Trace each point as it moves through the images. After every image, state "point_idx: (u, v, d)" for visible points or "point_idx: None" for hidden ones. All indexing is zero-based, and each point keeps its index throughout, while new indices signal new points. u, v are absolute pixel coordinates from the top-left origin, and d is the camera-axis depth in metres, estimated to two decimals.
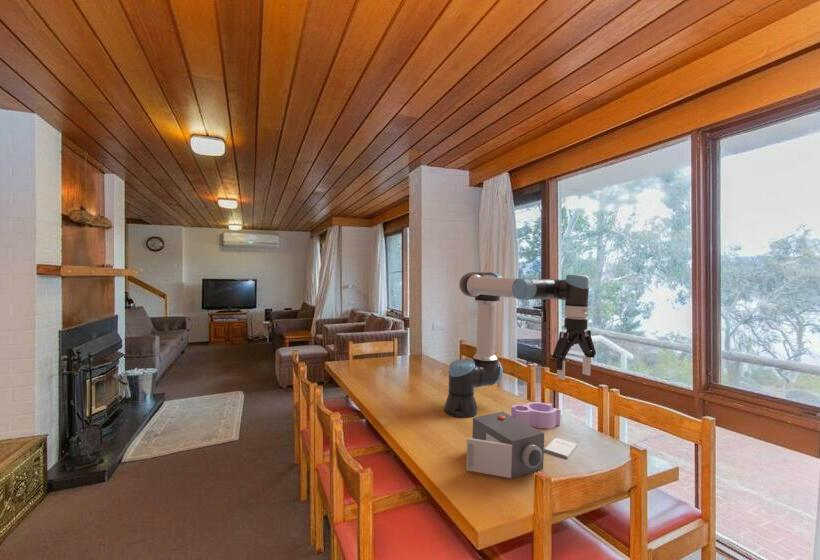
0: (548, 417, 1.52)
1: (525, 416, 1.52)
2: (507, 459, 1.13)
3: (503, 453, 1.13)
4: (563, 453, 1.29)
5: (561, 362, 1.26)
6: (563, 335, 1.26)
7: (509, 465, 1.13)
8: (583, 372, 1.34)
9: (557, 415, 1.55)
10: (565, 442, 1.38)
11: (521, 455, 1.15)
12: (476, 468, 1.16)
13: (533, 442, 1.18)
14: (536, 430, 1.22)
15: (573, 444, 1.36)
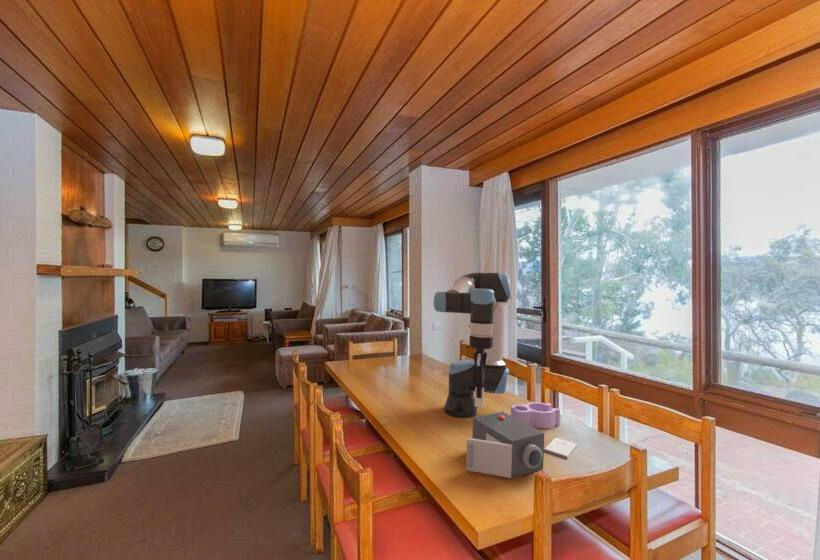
0: (548, 417, 1.52)
1: (525, 416, 1.52)
2: (507, 459, 1.13)
3: (503, 453, 1.13)
4: (563, 453, 1.29)
5: None
6: None
7: (509, 465, 1.13)
8: None
9: (556, 415, 1.55)
10: (565, 442, 1.38)
11: (521, 455, 1.15)
12: (476, 468, 1.16)
13: (533, 442, 1.18)
14: (536, 430, 1.22)
15: (573, 444, 1.36)
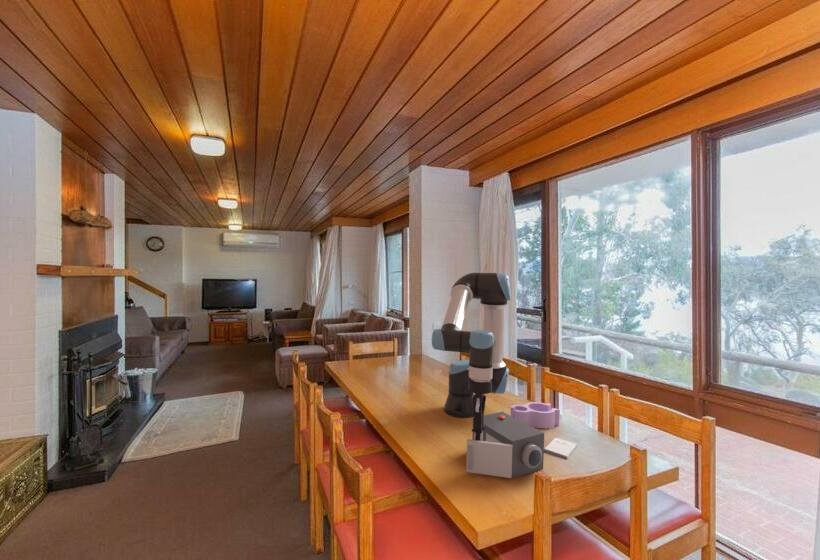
0: (548, 417, 1.52)
1: (524, 416, 1.52)
2: (507, 459, 1.13)
3: (503, 454, 1.13)
4: (563, 453, 1.29)
5: None
6: None
7: (509, 465, 1.13)
8: None
9: (556, 415, 1.55)
10: (565, 442, 1.38)
11: (521, 455, 1.15)
12: (476, 469, 1.15)
13: (533, 442, 1.18)
14: (536, 430, 1.22)
15: (573, 444, 1.36)
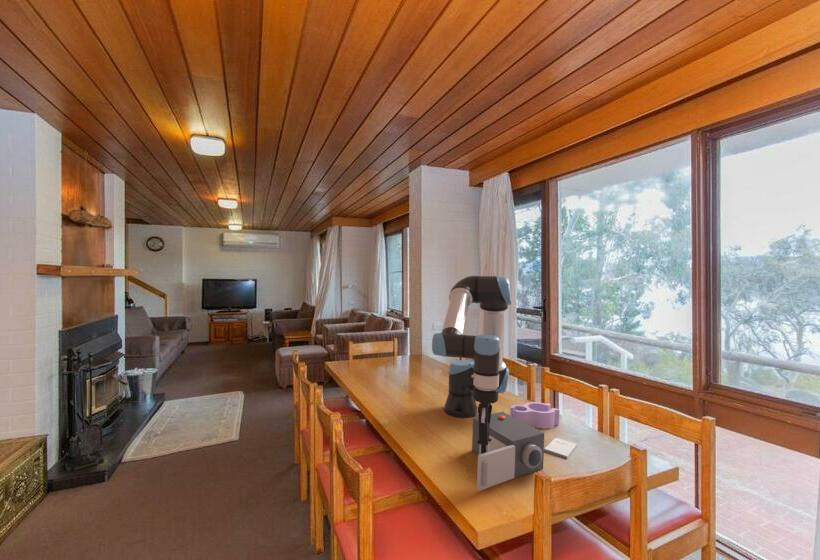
0: (548, 417, 1.52)
1: (524, 416, 1.52)
2: (512, 461, 1.12)
3: (509, 457, 1.11)
4: (563, 453, 1.29)
5: None
6: None
7: (513, 466, 1.12)
8: None
9: (556, 415, 1.55)
10: (565, 442, 1.38)
11: (521, 455, 1.15)
12: (488, 484, 1.07)
13: (533, 442, 1.18)
14: (536, 430, 1.22)
15: (573, 444, 1.36)
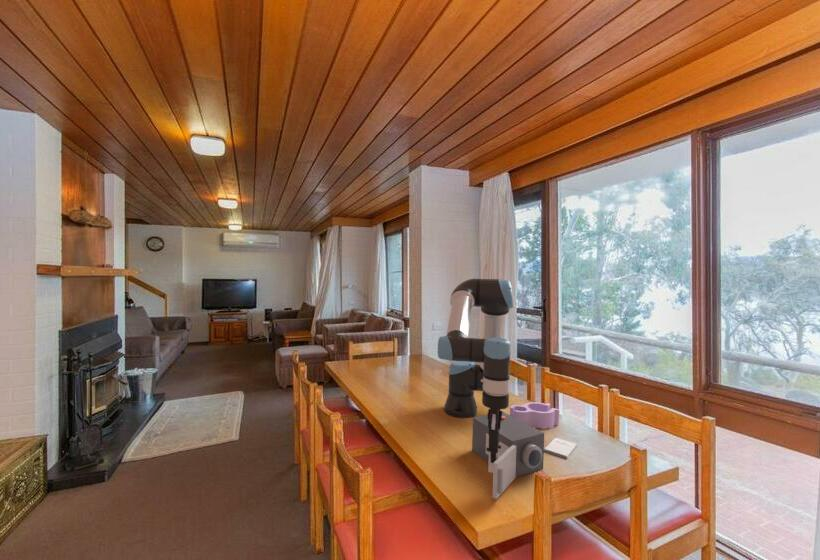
0: (547, 417, 1.51)
1: (524, 416, 1.52)
2: (514, 461, 1.12)
3: (513, 457, 1.11)
4: (563, 453, 1.29)
5: None
6: None
7: (515, 466, 1.12)
8: None
9: (556, 415, 1.55)
10: (565, 442, 1.38)
11: (521, 455, 1.15)
12: None
13: (533, 442, 1.18)
14: (536, 430, 1.22)
15: (573, 444, 1.36)
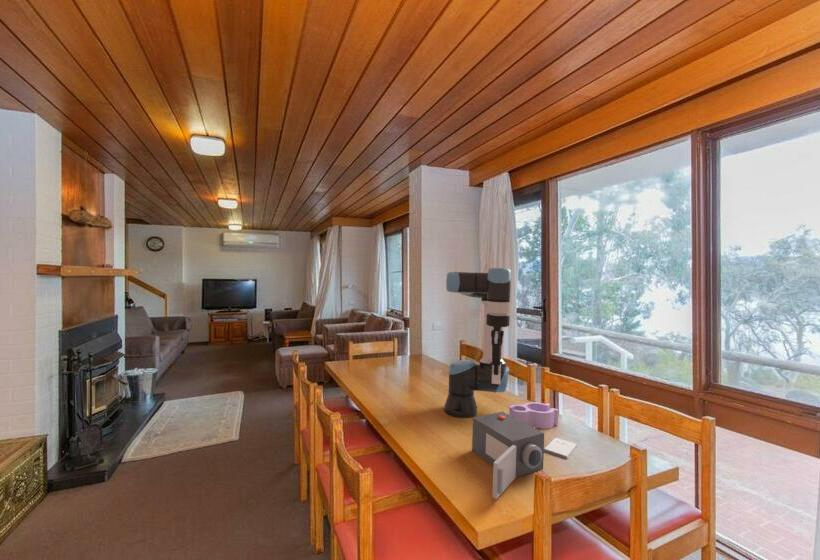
0: (546, 417, 1.52)
1: (523, 416, 1.52)
2: (514, 461, 1.12)
3: (513, 457, 1.11)
4: (563, 453, 1.29)
5: None
6: None
7: (515, 466, 1.12)
8: None
9: (555, 415, 1.55)
10: (565, 442, 1.38)
11: (521, 455, 1.15)
12: None
13: (533, 442, 1.18)
14: (536, 430, 1.22)
15: (573, 444, 1.36)
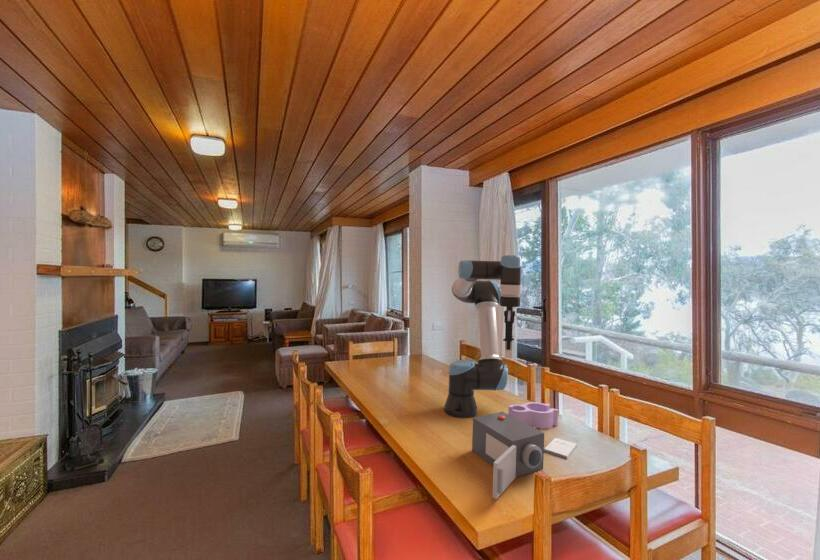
0: (546, 417, 1.51)
1: (522, 416, 1.52)
2: (514, 461, 1.12)
3: (513, 457, 1.11)
4: (563, 453, 1.29)
5: None
6: None
7: (515, 466, 1.12)
8: None
9: (554, 415, 1.55)
10: (565, 442, 1.38)
11: (521, 455, 1.15)
12: None
13: (533, 442, 1.18)
14: (536, 430, 1.22)
15: (573, 444, 1.36)
